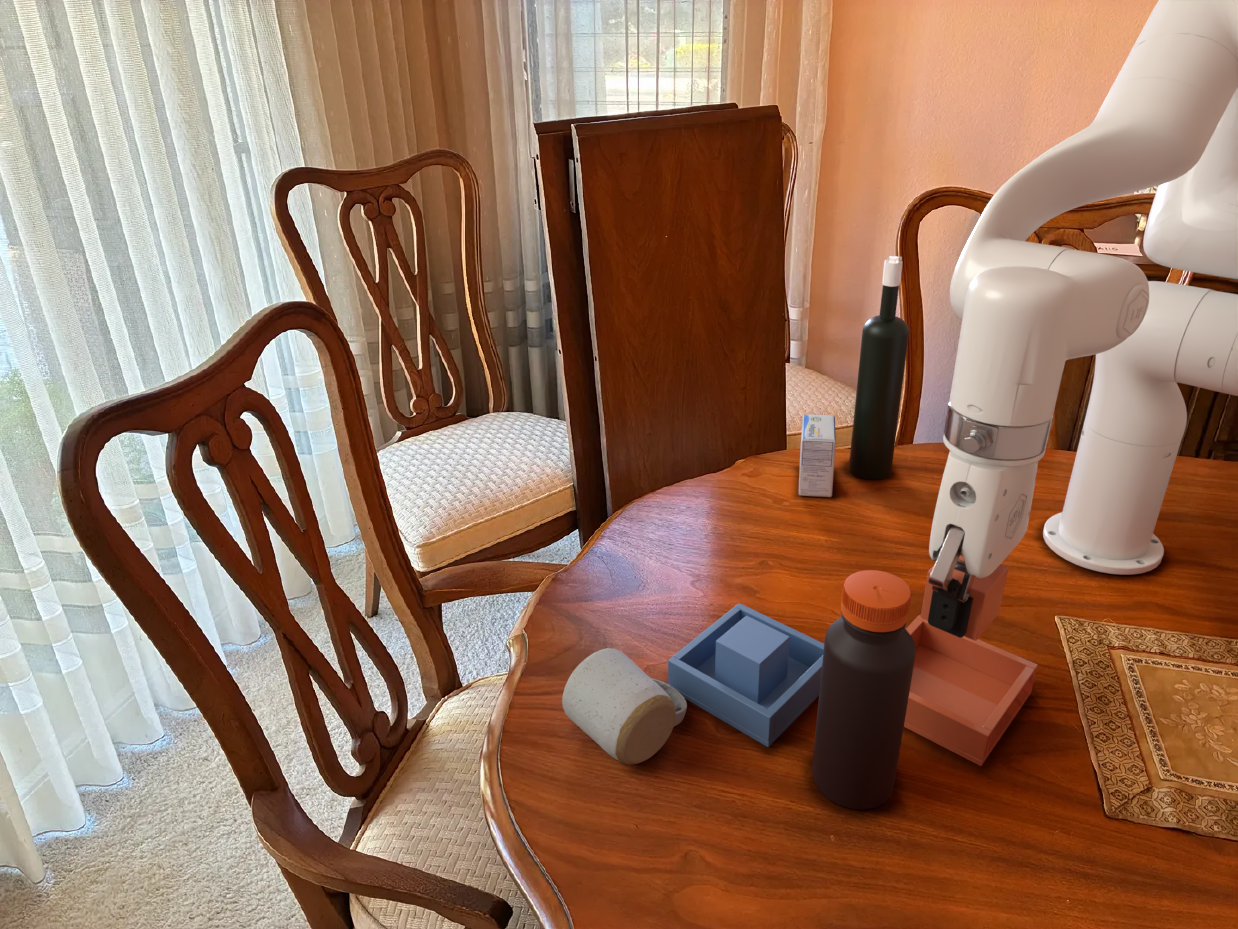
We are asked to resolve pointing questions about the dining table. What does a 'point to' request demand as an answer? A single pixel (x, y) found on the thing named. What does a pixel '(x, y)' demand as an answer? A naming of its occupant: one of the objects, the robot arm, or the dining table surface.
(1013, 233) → the robot arm
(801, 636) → the blue bin
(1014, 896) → the dining table surface
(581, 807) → the dining table surface
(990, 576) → the terracotta block
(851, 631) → the black bottle
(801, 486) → the medicine box
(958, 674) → the terracotta bin
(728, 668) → the blue block
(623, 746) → the ceramic mug
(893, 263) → the wine bottle
